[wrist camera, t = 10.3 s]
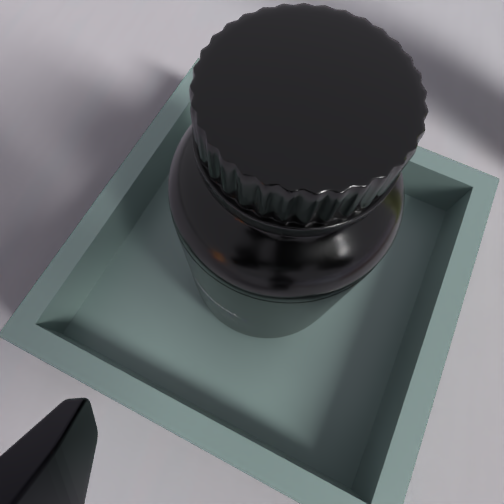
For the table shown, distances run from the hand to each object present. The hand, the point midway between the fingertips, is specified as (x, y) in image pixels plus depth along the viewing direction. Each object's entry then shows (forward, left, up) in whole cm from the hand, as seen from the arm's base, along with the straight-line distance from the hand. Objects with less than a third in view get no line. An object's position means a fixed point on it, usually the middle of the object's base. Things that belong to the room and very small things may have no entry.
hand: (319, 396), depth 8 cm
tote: (+3, -5, -11) cm, 12 cm away
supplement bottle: (+3, -5, -10) cm, 11 cm away
